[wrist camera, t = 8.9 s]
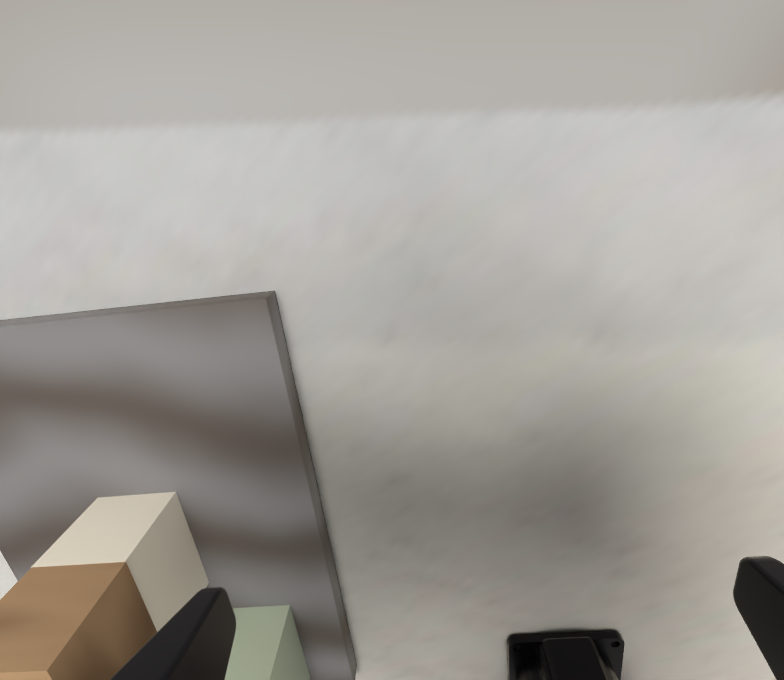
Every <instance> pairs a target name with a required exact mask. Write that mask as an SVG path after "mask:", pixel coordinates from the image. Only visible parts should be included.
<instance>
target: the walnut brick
mask: <svg viewBox="0 0 784 680" xmlns="http://www.w3.org/2000/svg"><path fill="white" fill-rule="evenodd" d="M156 633H157V630H156V628H155V626H154V624H153V621H152V619H151V617H150V615H149V612H148V610H147V608H146V606H145V603H144V601H143V599H142V597H141V594H140V592H139V590H138V588H137V585H136V583H135V581H134V579H133V576H132V574H131V572H130V570H129V567H128V565H127V563H126V562H113V563H96V564H80V565H63V566H47V567H32V568H31V569H30V570H29V571H28V572H27V573H26V574H25V575H24V576H23V577H22V578H21V579H20V580H19V581H18V582H17V583H16V584H15V585H14V586H13V587H12V588H11V589H10V590H9V592H8V593H7V594H6V595H5V596H4V597H3V598H2V599H1V600H0V680H110V679H111V678H112V677H113V676H114V675H115V674H116V673H117V672H118V671H119V670H120V669H121V668H122V667H123V666H124V665H125V664H126V663H127V662H128V661H129V660H130V659H131V658H132V657H133V656H134V655H135V654H136V653H137V652H138V651H139V650H140V649H141V648H142V647H143V646H144V645H145V644H146V643H147V642H148V641H149V640H150V639H151V638H152V637H153V636H154V635H155V634H156Z"/></svg>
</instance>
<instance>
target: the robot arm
mask: <svg viewBox="0 0 784 680" xmlns="http://www.w3.org/2000/svg"><path fill="white" fill-rule="evenodd" d="M733 595H734V601H735V603H736V606H737V608H738V610H739V612H740V614H741V616H742V617H743V619H744V621H745V623H746V625H747V627H748V628H749V630H750V632H751V634H752V636H753V637H754V639H755V641H756V643H757V645H758V647H759V648H760V650H761V652H762V654H763V656H764V657H765V659H766V661H767V663H768V665H769V667H770V668H771V670H772V672H773V674H774V676H775V677H776V679H777V680H784V564H783V563H782V562H780V561H778V560H776V559H774V558H772V557H768V556H758V557H745V558H743V559H742V560H741V561H740V563H739V568H738V572H737V576H736V581H735V585H734V590H733ZM235 632H236V617H235V614H234V611H233V608H232V605H231V602H230V599H229V596H228V594H227V591H226V590H225V589H224V588H223V587H214V588H204V589H201V590H200V591H198V592H197V593H196V594H195V595H194V596H193V597H192V598H191V599H190V600H189V601H188V602H187V603H186V604H185V605H184V606H183V607H182V608H181V609H180V610H179V611H178V612H177V613H176V614H175V615H174V616H173V617H172V618H171V619H170V620H169V621H168V622H167V623H166V624H165V625H164V626H163V627H162V628H161V629H160V630H159V631H158V632H157V633H156V634H155V635H154V636H153V637H152V638H151V639H150V640H149V641H148V642H147V643H146V644H145V645H144V646H143V647H142V648H141V649H140V650H139V651H138V652H137V653H136V654H135V655H134V656H133V657H132V658H131V659H130V660H129V661H128V662H127V663H126V664H125V665H124V666H123V667H122V668H121V669H120V670H119V671H118V672H117V673H116V674H115V675H114V676H113V677H112V678H111V679H110V680H225V676H226V671H227V667H228V663H229V658H230V654H231V650H232V645H233V641H234V637H235ZM623 652H624V641H623V639H622V636H621V634H620V633H618V632H615V631H609V632H588V633H566V634H545V635H524V636H512V637H510V638H509V639H508V640H507V656H508V680H620V679H621V670H622V661H623Z"/></svg>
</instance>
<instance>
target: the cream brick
mask: <svg viewBox="0 0 784 680" xmlns="http://www.w3.org/2000/svg"><path fill="white" fill-rule="evenodd" d="M113 562H126V563H127V565H128V567H129V570H130V572H131V574H132V576H133V579H134V581H135V583H136V585H137V588H138V590H139V592H140V594H141V597H142V599H143V601H144V603H145V606H146V608H147V610H148V612H149V615H150V617H151V619H152V621H153V624H154V626H155V628H156V630H157V632H158V631H159V630H160V629H161V628H162V627H163V626H164V625H165V624H166V623H167V622H168V621H169V620H170V619H171V618H172V617H173V616H174V615H175V614H176V613H177V612H178V611H179V610H180V609H181V608H182V607H183V606H184V605H185V604H186V603H187V602H188V601H189V600H190V599H191V598H192V597H193V596H194V595H195V594H196V593H197V592H198V591H200V590H201V589H204V588H206V587H207V585H208V583H209V581H208V578H207V576H206V573H205V570H204V567H203V565H202V562H201V559H200V556H199V554H198V551H197V548H196V546H195V543H194V540H193V537H192V535H191V532H190V529H189V526H188V524H187V521H186V518H185V515H184V513H183V510H182V507H181V504H180V502H179V499H178V496H177V494H176V492H167V493H153V494H140V495H126V496H113V497H100V498H97V499H96V500H95V501H94V502H93V503H92V504H91V505H90V506H89V507H88V508H87V509H86V510H85V511H84V512H83V513H82V515H81V516H80V517H79V518H78V519H77V520H76V521H75V522H74V523H73V524H72V525H71V526H70V527H69V528H68V529H67V530H66V531H65V532H64V533H63V534H62V535H61V536H60V537H59V538H58V540H57V541H56V542H55V543H54V544H53V545H52V546H51V547H50V548H49V549H48V550H47V551H46V552H45V553H44V554H43V555H42V556H41V557H40V558H39V559H38V560H37V561H36V562H35V564H34V565H33V566H32V567H47V566H63V565H80V564H96V563H113ZM32 567H31V568H32Z"/></svg>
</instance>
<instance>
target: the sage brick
mask: <svg viewBox="0 0 784 680" xmlns="http://www.w3.org/2000/svg"><path fill="white" fill-rule="evenodd" d="M233 611H234V614H235V617H236V632H235V637H234V641H233V645H232V650H231V654H230V658H229V663H228V667H227V671H226V676H225V680H310V675H309V672H308V668H307V664H306V661H305V657H304V654H303V650H302V647H301V643H300V640H299V636H298V632H297V629H296V625H295V622H294V618H293V615H292V611H291V608H290V605H283V606H264V607H245V608H233Z"/></svg>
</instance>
